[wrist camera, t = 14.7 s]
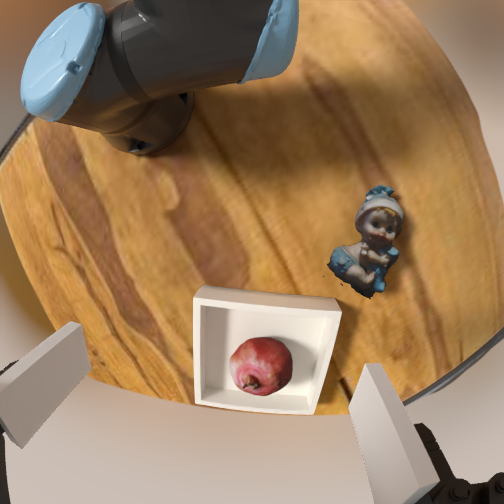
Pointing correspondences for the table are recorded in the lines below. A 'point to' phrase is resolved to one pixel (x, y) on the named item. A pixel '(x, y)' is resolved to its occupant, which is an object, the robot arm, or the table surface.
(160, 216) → the table surface
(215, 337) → the dish
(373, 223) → the figurine
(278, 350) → the fruit
